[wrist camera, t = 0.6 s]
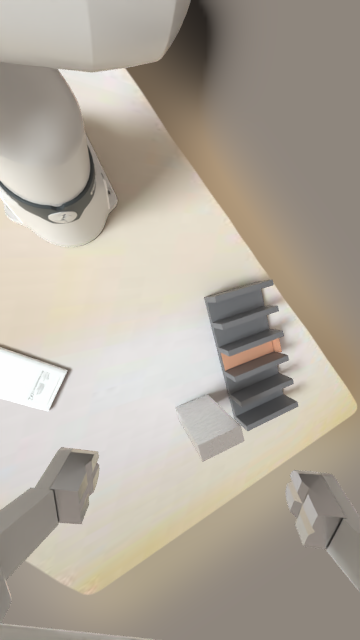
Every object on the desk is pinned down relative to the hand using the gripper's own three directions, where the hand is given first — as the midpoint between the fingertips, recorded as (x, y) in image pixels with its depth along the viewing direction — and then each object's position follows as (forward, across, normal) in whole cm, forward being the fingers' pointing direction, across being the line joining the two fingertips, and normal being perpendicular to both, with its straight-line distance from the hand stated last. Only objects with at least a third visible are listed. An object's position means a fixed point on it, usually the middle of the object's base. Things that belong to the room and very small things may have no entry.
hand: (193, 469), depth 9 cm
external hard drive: (+27, +29, +18) cm, 43 cm away
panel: (+34, -3, +26) cm, 43 cm away
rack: (+42, -15, +15) cm, 47 cm away
